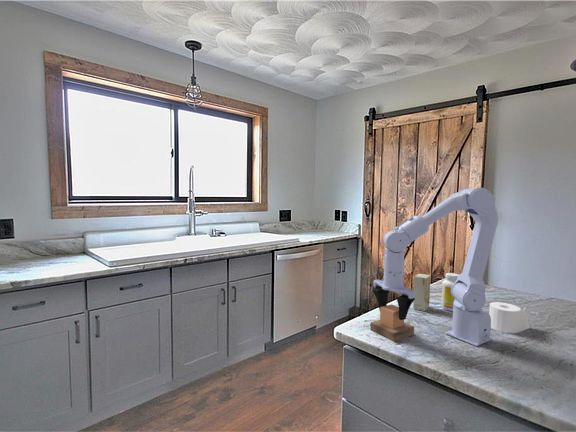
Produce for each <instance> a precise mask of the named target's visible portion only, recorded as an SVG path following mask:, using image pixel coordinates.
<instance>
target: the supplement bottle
mask: <svg viewBox="0 0 576 432" xmlns="http://www.w3.org/2000/svg"><path fill="white" fill-rule="evenodd" d="M459 275H460V274H458V273H454V272H446V273H445V275H444V276H445V279H443V281H442V283H441V284H442V285H441V301H440V303H441V305H440V306H441V308H442V309H444V310H446V311H450V312H453V303H454V300H455V298H454V297H453V296H452V294H451V287H452V285H453V284H454V283H455V282H456V280H457V277H458V276H459Z"/></svg>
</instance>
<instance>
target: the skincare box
mask: <svg viewBox="0 0 576 432" xmlns="http://www.w3.org/2000/svg"><path fill="white" fill-rule="evenodd" d="M413 277H414V281H413V282H414V283H413V291H416V296H415V300H414V301H413V302H412V309H414V310H416V311H417V310H418V311H422V312H426V311H427V310H428V309H429V308H430V296H431V295H430V294H431V293H430V292H431V275H430V274H425V273H418V274H416V275H415V276H413Z"/></svg>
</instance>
